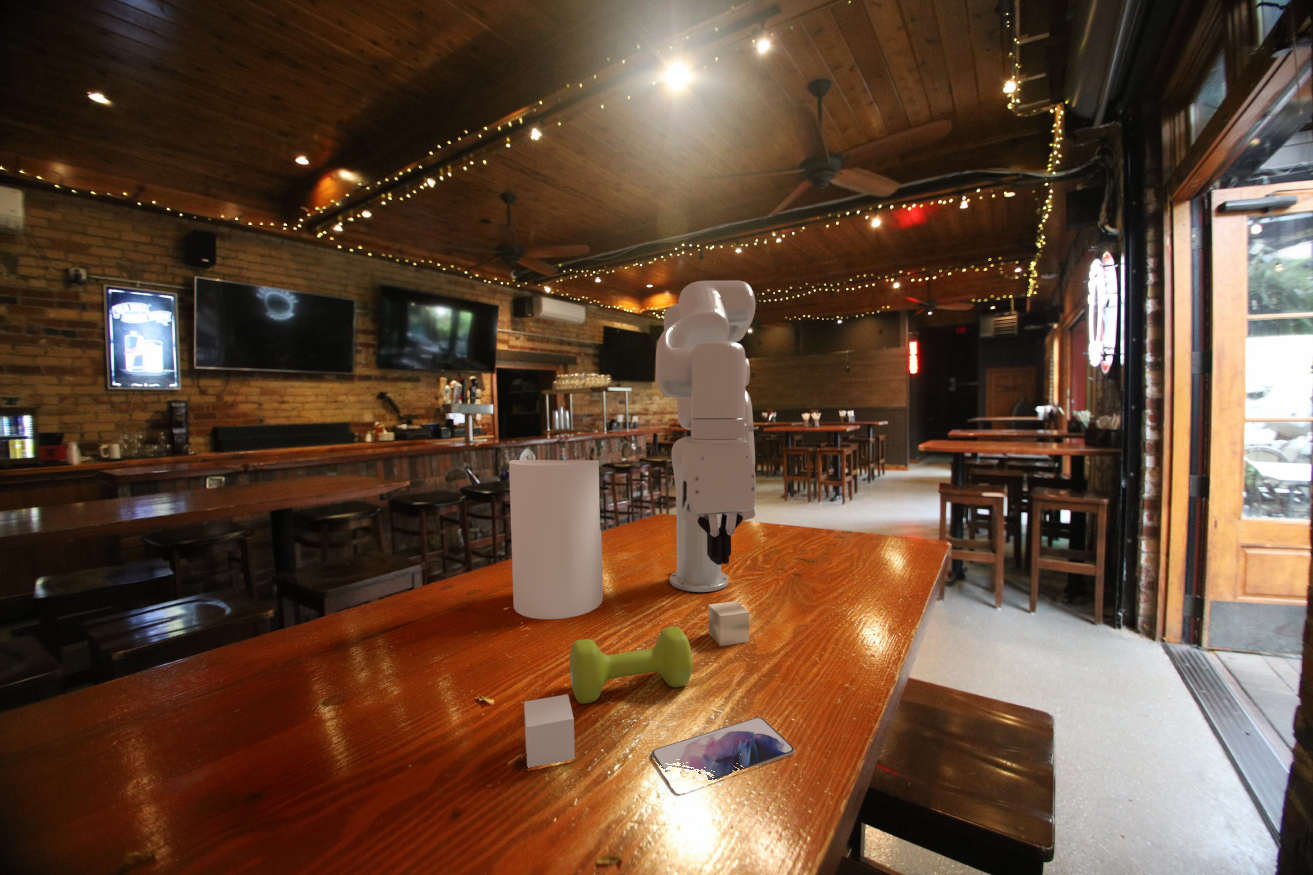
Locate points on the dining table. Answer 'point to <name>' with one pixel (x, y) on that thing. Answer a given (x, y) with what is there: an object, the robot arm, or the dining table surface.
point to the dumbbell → (629, 664)
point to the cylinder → (555, 537)
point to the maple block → (728, 623)
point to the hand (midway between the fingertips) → (719, 561)
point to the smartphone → (727, 749)
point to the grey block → (549, 731)
